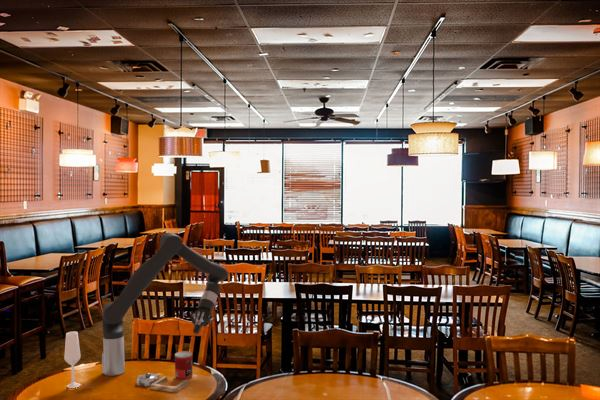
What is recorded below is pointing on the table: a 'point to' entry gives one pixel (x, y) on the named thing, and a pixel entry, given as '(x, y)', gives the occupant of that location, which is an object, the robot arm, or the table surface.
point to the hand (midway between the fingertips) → (195, 333)
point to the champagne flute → (72, 354)
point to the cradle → (158, 386)
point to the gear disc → (147, 379)
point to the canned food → (183, 365)
